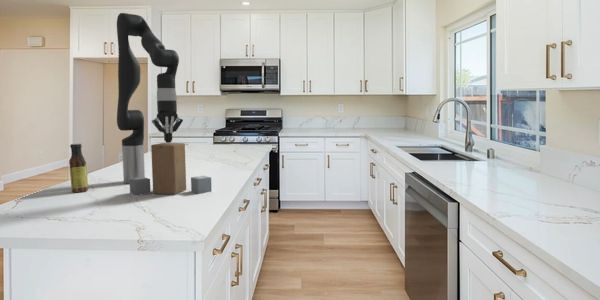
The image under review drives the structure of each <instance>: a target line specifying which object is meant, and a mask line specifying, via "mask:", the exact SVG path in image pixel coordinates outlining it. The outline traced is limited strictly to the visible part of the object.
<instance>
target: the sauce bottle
mask: <svg viewBox="0 0 600 300" xmlns="http://www.w3.org/2000/svg"><path fill="white" fill-rule="evenodd" d="M69 147H70V149H71V150H70V151H71V156H70V157H69V158H70V159H69V161H68V162H69V163H68V164H69V176H70V185H71V186H70V188H71V191H72V192H73V193H83V192H87V191H88V190H89V182H88V172H87V171H88V170H87V169H88V168H87V161H86V160H85V157H84V156H83V152H82V151H83V150H82V143H71V144H70V145H69Z"/></svg>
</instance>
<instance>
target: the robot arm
mask: <svg viewBox="0 0 600 300" xmlns="http://www.w3.org/2000/svg"><path fill="white" fill-rule="evenodd" d="M116 33H117V34H116V35H117V43H118V44H117V47H118V51H117V52H118V63H117V65H118V66H117V77H118V79H117V80H118V85H117V87H118V88H117V89H118V95H117V96H118V99H117V111H116V124H117V125H116V126H117V127H118V129H119V131H125V132H126V131H132V133H131V134H130V135H129V136H125V137H124V138H123V139H121V145H122V146H121V147H122V148H121V151H122V154H121V155H122V170H123V171H122V173H123V183H125V184H130V179H133V178H141V177H145V178H146V173H145V172H146V171H145V153H144V152H145V148H144V138H145V119H144V118H145V117H144V114H143V112H142V111H141V110H139V109H130V110H129V103H130V100H131V98H132V96H133V94H135V92H136V90H137V89H138V87H139V85H140V83H141V66H140V63H139V61H138V59H137V58H136V56H135V54H134V53H133V51H132V49H131V46H130V41H129V40H130V39H129V36H130V37H140V43H141V46H142V48H143V50H144V51H145V52H147V54H148V55H149V58H150V61H151V64H153V65H154V66H155V67H158V68H166V70H165V72H161V73H158V74H157V75H156V106H157V110H156V111H157V114H156V118H154V119H152V120H151V123H152V124H153V125H154V126H155V128H156V129H157V130H158V132H159V133H163V140H164V141H165V143H172V141H173V133H174V132H175V133H176V132H177V131H178V129H179V127H180V126H181V125H182V123H183V121H184V119H183V118H180V117H179V115H178V113H177V110H178V108H177V107H178V106H177V105H178V103H177V101H178V100H177V99H178V98H177V91H176V76H177V72H178V67H179V63H180V57H179V54H178V52H177V51H176V50H173V49H166V47H165V45H164V44H163V42H162V41H161V40H159V38H158V37H157V36H156V35H155V33H153V31H152V29H151V27H150V26H149V24H148V23H147V21H146V19H145V18H144V17H143V16H141V15H139V14H132V13H127V12H126V13H125V12H120V13H119V14H118V15H117V19H116ZM160 123H161V124H160Z"/></svg>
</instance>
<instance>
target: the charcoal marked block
mask: <svg viewBox="0 0 600 300" xmlns="http://www.w3.org/2000/svg"><path fill="white" fill-rule="evenodd" d="M129 193H130V194H131V193H132V194H131V195H133V194H135V195H134V196H141V195H140V194H143V195H149V194H148V193H150V194H151V178H148V177H146V176H145V177H141V178H133V179H130V183H129Z"/></svg>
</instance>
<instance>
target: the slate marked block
mask: <svg viewBox="0 0 600 300" xmlns="http://www.w3.org/2000/svg"><path fill="white" fill-rule="evenodd" d="M190 188H191V189H190V191H191V192H192V193H196V194H204V193H210V192H211V193H212V177H211V176H206V175H198V176H192V177H190Z"/></svg>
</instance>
